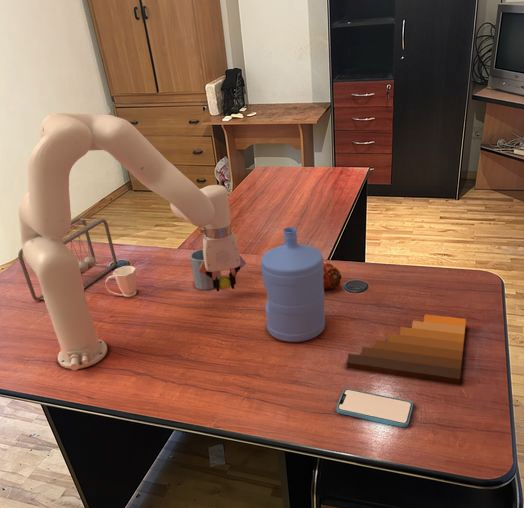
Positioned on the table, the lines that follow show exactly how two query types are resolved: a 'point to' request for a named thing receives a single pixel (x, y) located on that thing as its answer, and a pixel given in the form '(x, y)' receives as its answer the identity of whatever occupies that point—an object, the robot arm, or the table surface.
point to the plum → (224, 282)
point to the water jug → (294, 290)
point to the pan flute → (418, 351)
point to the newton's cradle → (88, 260)
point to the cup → (125, 280)
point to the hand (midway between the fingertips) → (224, 287)
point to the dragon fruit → (331, 276)
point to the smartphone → (375, 407)
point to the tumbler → (199, 278)
